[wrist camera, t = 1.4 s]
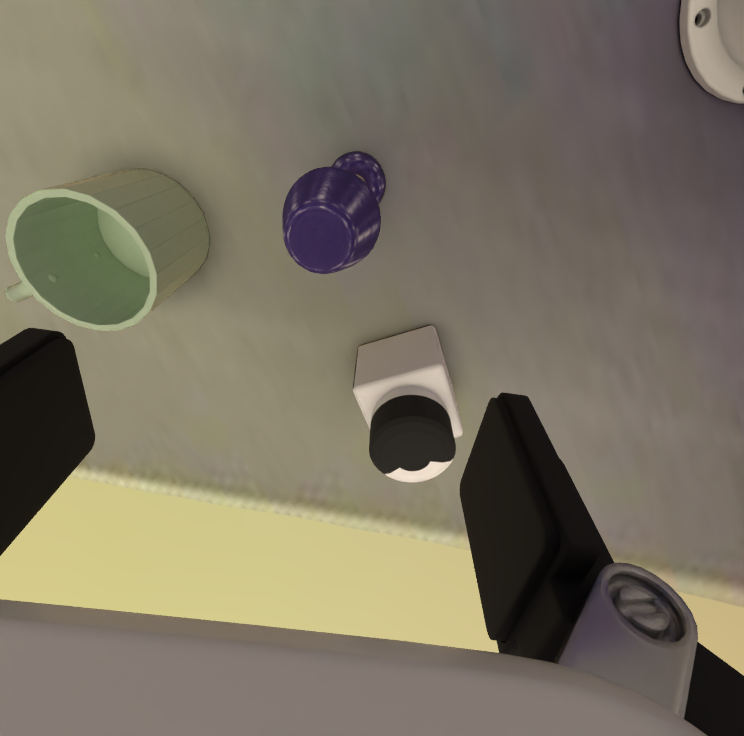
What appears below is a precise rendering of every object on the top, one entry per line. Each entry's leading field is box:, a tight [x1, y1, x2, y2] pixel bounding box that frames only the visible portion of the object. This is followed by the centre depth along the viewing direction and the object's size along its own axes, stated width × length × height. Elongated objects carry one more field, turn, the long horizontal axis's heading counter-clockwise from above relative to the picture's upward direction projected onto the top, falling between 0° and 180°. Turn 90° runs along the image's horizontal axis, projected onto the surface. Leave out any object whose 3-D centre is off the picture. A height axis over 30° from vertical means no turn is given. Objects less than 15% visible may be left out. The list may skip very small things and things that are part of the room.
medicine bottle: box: [353, 325, 463, 482], centre depth 35 cm, size 7×7×12 cm
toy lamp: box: [283, 152, 386, 274], centre depth 24 cm, size 5×5×17 cm
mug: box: [5, 169, 209, 331], centre depth 30 cm, size 12×9×9 cm
